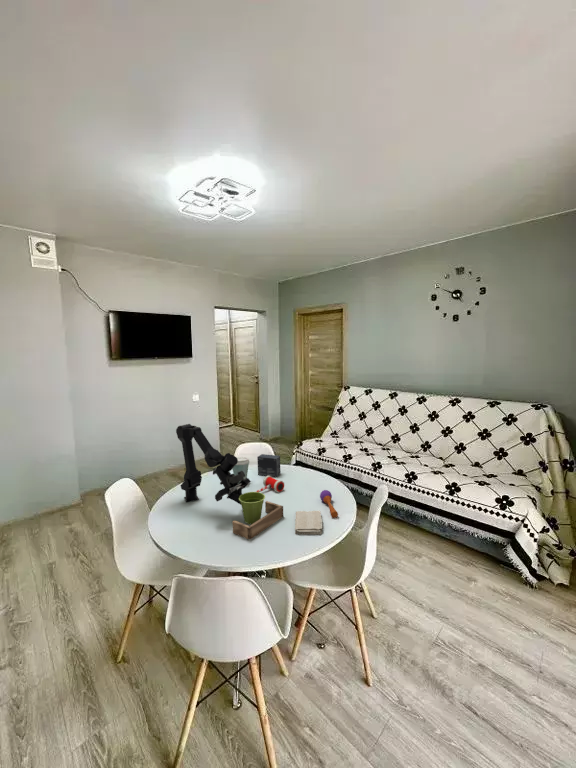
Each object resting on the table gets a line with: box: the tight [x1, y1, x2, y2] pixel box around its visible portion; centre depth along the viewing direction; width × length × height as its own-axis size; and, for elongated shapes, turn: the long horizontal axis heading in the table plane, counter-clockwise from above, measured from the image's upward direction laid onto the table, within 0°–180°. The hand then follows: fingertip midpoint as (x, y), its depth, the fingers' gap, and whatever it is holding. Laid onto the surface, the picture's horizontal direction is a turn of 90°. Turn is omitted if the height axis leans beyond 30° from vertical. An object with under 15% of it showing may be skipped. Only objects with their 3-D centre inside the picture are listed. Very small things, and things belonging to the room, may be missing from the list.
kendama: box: [319, 489, 339, 519], centre depth 157 cm, size 6×6×20 cm
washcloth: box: [294, 510, 323, 536], centre depth 143 cm, size 12×18×3 cm, turn 178°
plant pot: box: [239, 491, 266, 526], centre depth 146 cm, size 12×12×11 cm
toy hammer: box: [254, 476, 285, 493], centre depth 176 cm, size 23×12×6 cm, turn 131°
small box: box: [256, 453, 281, 478], centre depth 203 cm, size 13×7×12 cm, turn 69°
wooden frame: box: [231, 500, 284, 541], centre depth 143 cm, size 10×23×5 cm, turn 145°
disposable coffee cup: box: [232, 456, 250, 484], centre depth 190 cm, size 11×11×15 cm
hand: (243, 504), depth 148 cm, fingers closed
